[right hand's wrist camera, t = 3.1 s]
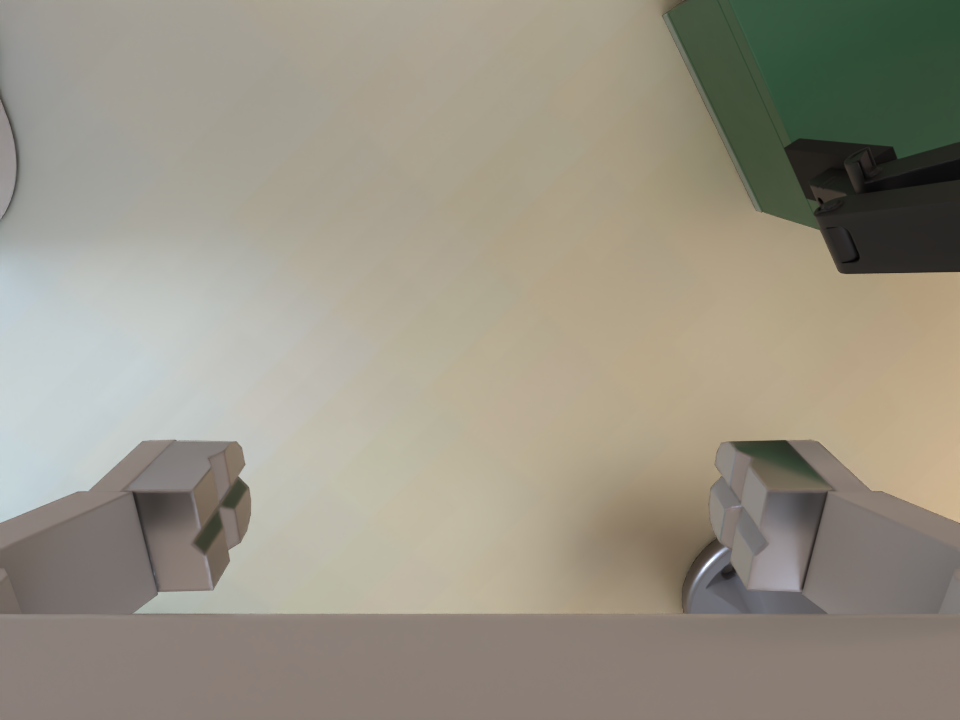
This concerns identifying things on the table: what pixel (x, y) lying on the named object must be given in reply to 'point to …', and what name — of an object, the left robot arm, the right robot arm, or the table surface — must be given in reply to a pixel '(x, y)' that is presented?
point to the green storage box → (820, 81)
